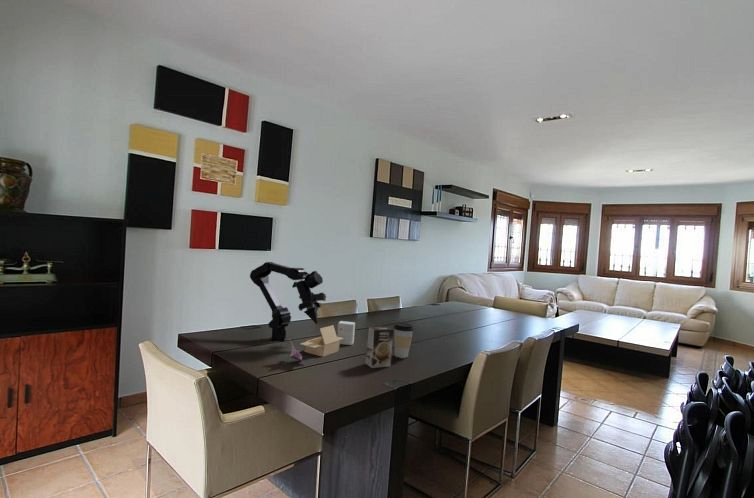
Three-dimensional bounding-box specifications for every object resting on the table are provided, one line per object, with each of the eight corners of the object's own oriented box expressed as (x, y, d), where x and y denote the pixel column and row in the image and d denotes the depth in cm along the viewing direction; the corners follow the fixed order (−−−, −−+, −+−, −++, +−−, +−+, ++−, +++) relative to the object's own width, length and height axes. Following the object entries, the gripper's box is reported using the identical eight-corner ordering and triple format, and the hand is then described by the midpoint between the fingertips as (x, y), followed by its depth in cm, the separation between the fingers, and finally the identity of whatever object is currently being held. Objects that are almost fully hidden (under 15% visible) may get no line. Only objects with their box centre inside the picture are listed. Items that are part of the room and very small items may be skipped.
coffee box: (371, 368, 165) (375, 329, 165) (365, 363, 171) (368, 326, 170) (390, 366, 169) (394, 329, 169) (383, 362, 175) (386, 325, 175)
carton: (296, 353, 176) (297, 342, 176) (326, 344, 196) (327, 334, 195) (315, 359, 171) (316, 347, 171) (345, 348, 190) (345, 338, 190)
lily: (298, 373, 155) (311, 350, 158) (272, 358, 156) (285, 336, 159) (302, 372, 167) (313, 351, 169) (277, 358, 168) (289, 338, 170)
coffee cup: (414, 356, 188) (416, 324, 188) (407, 360, 180) (409, 328, 179) (395, 352, 192) (398, 321, 192) (387, 356, 184) (390, 324, 183)
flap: (319, 328, 178) (320, 328, 178) (332, 325, 186) (333, 325, 186) (324, 344, 176) (325, 344, 176) (337, 340, 185) (338, 340, 185)
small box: (353, 342, 203) (355, 322, 203) (352, 345, 197) (353, 324, 197) (338, 341, 204) (340, 320, 203) (336, 343, 198) (338, 322, 198)
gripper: (315, 283, 180) (327, 315, 177) (325, 287, 198) (336, 316, 195) (292, 293, 180) (305, 325, 177) (304, 296, 199) (316, 325, 195)
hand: (316, 323), depth 186 cm, fingers closed
